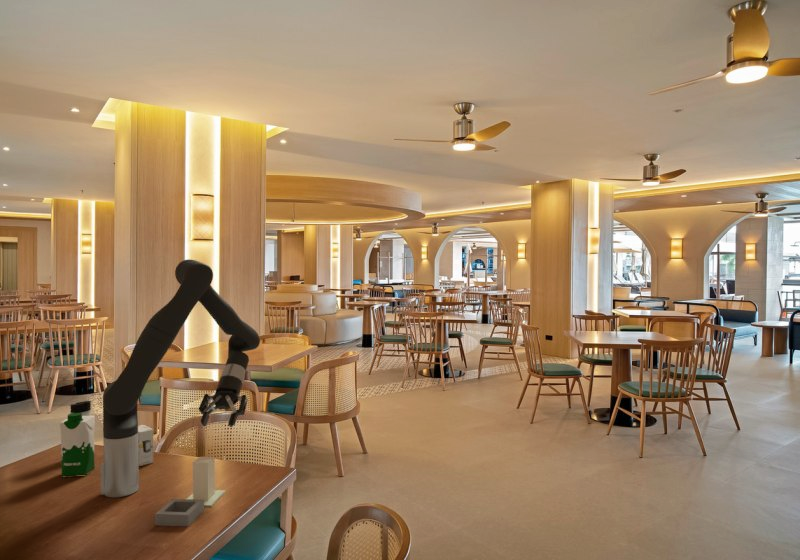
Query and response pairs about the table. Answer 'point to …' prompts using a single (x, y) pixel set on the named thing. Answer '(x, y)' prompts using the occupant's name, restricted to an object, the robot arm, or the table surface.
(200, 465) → the cream carton
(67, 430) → the milk carton
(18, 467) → the table surface
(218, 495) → the mat
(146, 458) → the ink box
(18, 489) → the table surface
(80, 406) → the travel mug
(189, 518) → the grey square frame
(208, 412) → the robot arm
